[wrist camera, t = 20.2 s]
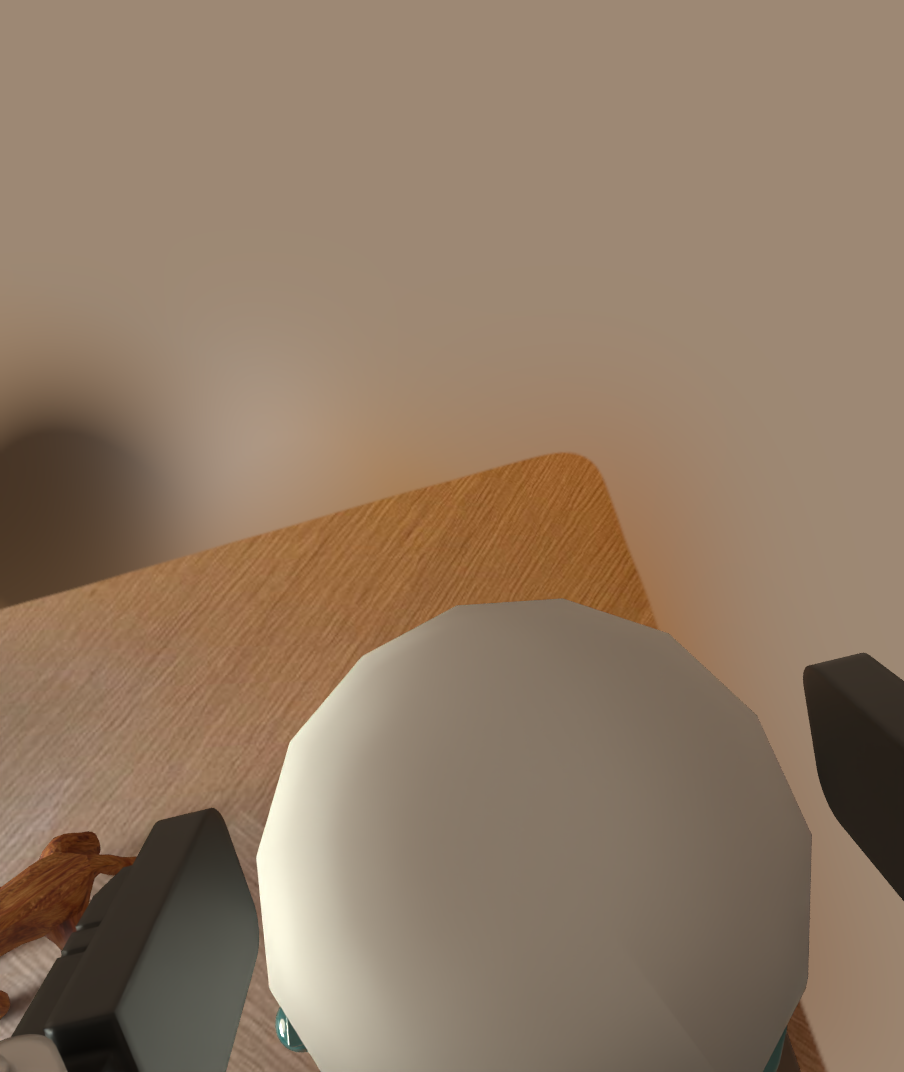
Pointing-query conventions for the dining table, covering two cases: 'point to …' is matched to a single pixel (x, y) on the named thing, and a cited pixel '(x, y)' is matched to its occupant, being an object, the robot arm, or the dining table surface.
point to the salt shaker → (535, 857)
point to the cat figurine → (52, 893)
